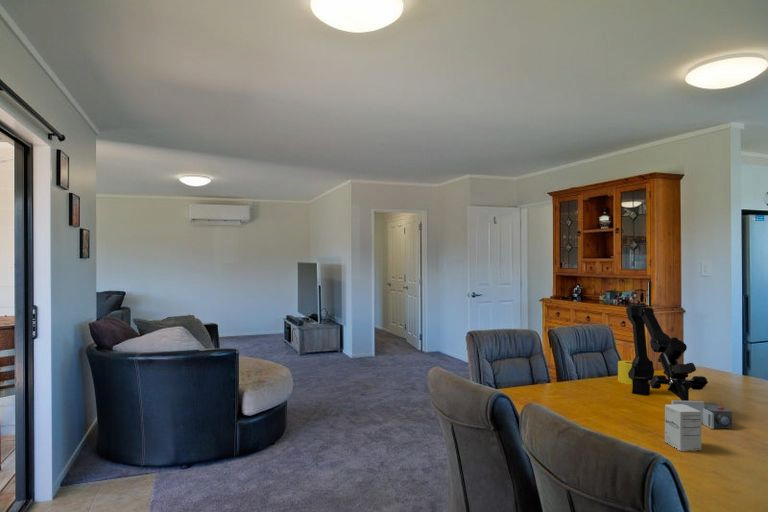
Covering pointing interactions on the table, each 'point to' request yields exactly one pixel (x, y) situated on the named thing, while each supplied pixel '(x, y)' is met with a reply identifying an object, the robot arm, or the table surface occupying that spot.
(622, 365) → the yellow paper roll
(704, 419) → the side door
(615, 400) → the table surface
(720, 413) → the camera body
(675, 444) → the supplement box
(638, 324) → the robot arm
